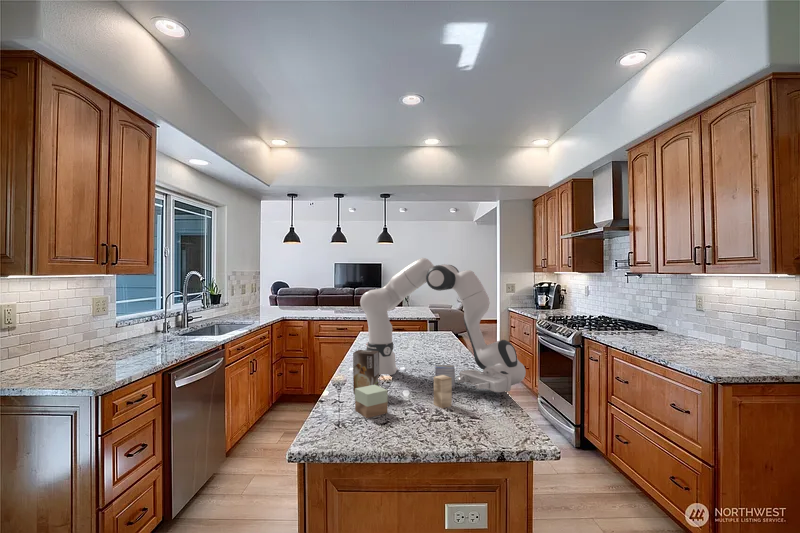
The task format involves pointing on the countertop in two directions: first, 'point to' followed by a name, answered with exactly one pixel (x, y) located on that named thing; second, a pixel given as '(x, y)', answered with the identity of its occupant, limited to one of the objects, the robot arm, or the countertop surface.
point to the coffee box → (365, 368)
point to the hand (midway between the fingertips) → (467, 383)
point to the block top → (371, 395)
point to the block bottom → (371, 409)
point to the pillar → (442, 391)
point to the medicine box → (446, 372)
